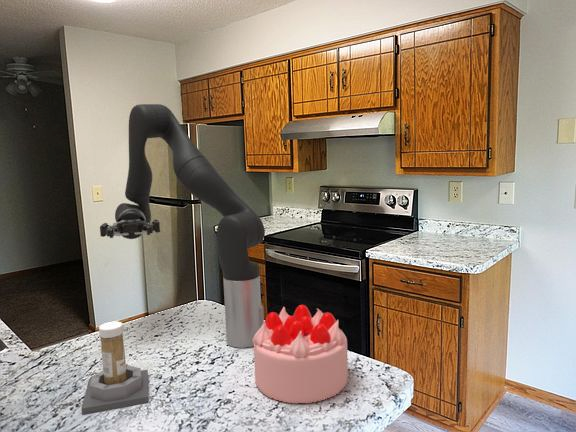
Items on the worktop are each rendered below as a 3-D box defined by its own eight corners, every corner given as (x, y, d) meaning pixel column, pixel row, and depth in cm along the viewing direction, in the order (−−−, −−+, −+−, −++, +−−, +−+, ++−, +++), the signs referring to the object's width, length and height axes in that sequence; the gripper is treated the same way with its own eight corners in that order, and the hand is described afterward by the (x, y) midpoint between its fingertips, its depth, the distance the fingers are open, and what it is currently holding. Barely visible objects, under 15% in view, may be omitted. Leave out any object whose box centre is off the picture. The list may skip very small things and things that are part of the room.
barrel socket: (147, 374, 100) (146, 359, 99) (148, 402, 88) (146, 385, 88) (89, 384, 96) (87, 368, 96) (81, 414, 85) (80, 396, 84)
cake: (362, 396, 89) (362, 327, 87) (263, 413, 84) (260, 340, 82) (329, 354, 107) (328, 296, 105) (246, 365, 103) (244, 306, 101)
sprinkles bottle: (130, 388, 91) (125, 325, 90) (106, 395, 89) (101, 330, 87) (124, 379, 95) (119, 318, 93) (102, 386, 93) (96, 323, 91)
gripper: (102, 211, 121) (96, 219, 106) (157, 207, 125) (159, 214, 110) (105, 238, 122) (99, 250, 107) (159, 234, 126) (161, 245, 111)
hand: (129, 232), depth 108 cm, fingers open, 8 cm apart
